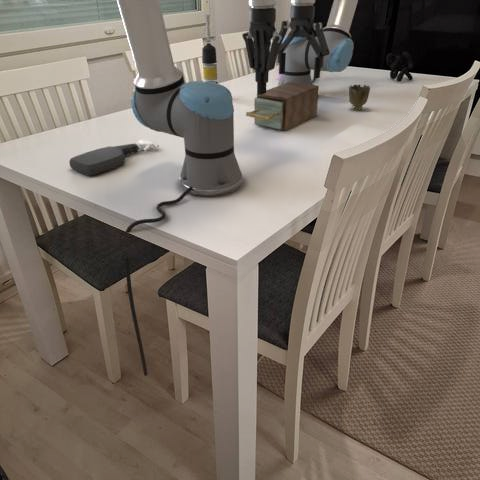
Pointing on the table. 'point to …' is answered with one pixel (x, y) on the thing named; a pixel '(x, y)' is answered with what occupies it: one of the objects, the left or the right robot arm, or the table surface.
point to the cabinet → (295, 102)
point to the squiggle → (399, 66)
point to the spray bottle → (106, 157)
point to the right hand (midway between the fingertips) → (298, 75)
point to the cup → (358, 96)
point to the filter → (209, 57)
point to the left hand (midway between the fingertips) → (261, 93)
